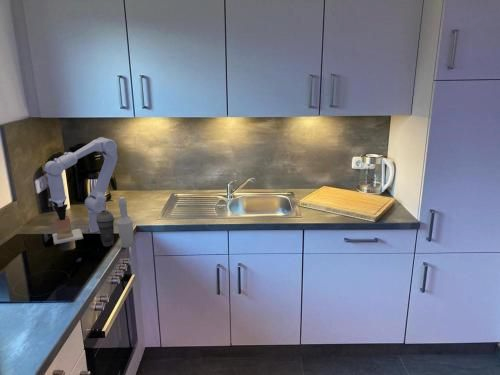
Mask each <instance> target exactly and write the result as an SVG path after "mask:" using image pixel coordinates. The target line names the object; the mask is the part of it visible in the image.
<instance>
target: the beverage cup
mask: <svg viewBox="0 0 500 375" xmlns="http://www.w3.org/2000/svg"><path fill="white" fill-rule="evenodd" d="M106 209H107V200H106V201H105V209H104V211H101V212H100V213H99V214H98V215H97V220H96V222H97V224H98V226H99V230H100V231H99V235H100V238H101V242H102V245H103V247H111V245H112V246H114V244H115V232H114V229H115V228H114V223H115V218H114V215H113V213H112V212H110V211H109V210H108V211H106Z"/></svg>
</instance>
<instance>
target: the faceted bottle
mask: <svg viewBox="0 0 500 375" xmlns="http://www.w3.org/2000/svg"><path fill="white" fill-rule="evenodd" d="M127 203H128V202H127V200H126V197H125V196H121V197H118V208H119V214H120V217H119V218H118V219H117V230H118V235H119V239H120V243H121V247H122V248H125V249H129V248H130V249H131V248H132V247H133V246H134V226H133V219H132V218H131V217H130V216H129V215H128V208H127V207H128V206H127Z"/></svg>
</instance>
